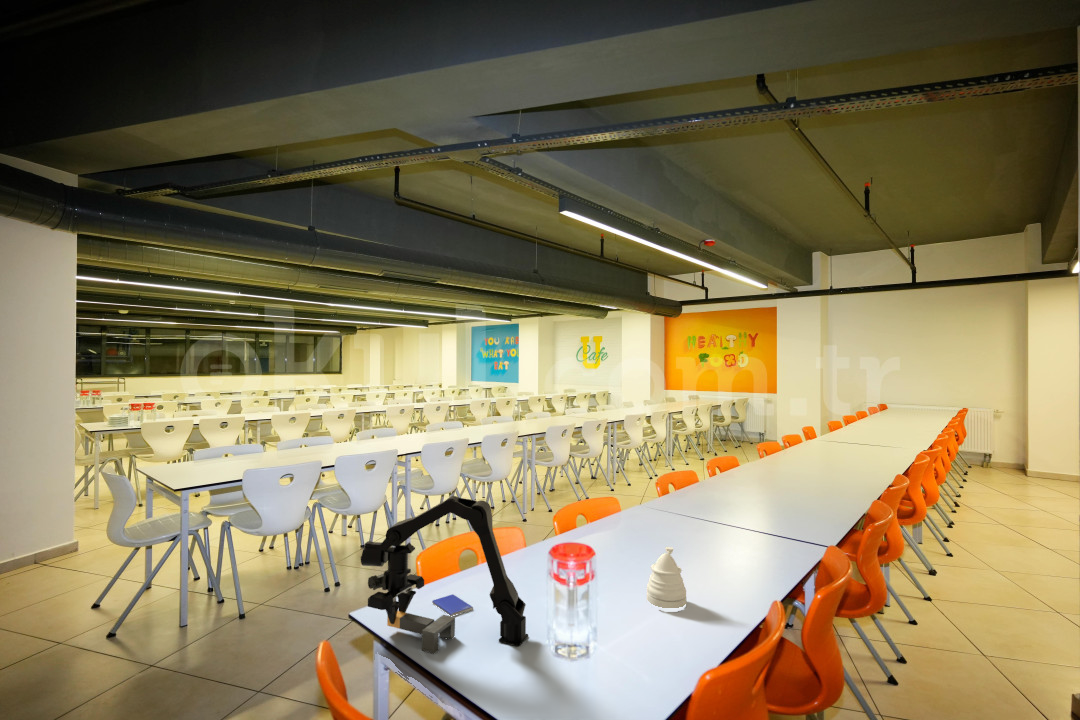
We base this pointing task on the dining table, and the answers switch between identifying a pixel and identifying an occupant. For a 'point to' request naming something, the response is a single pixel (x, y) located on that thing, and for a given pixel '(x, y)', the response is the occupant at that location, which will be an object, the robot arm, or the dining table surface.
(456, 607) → the hard drive
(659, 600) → the honey pot
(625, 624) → the dining table surface
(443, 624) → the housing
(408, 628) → the plug
